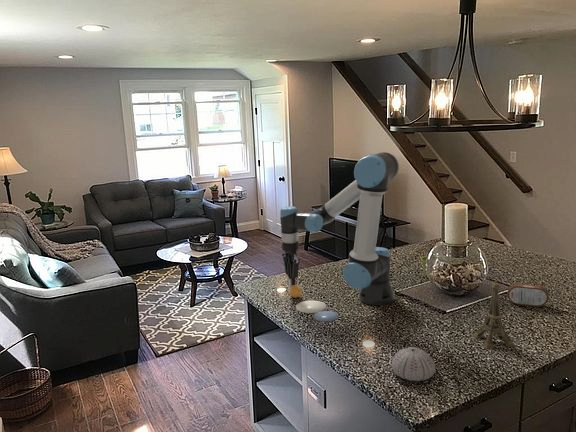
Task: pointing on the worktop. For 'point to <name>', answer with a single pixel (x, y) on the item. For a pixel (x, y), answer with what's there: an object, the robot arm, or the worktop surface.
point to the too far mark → (326, 316)
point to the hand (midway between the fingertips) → (292, 290)
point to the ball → (295, 291)
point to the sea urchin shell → (413, 364)
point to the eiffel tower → (493, 322)
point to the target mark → (310, 306)
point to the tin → (528, 295)
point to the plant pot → (424, 263)
